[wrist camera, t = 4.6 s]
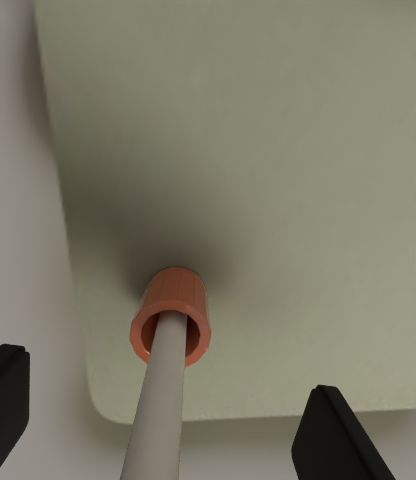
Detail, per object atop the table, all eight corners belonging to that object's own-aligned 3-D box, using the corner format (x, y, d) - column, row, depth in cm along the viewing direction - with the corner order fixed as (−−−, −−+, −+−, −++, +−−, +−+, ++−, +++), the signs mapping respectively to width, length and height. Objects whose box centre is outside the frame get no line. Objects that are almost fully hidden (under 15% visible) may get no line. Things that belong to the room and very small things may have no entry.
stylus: (162, 308, 15) (106, 545, 6) (165, 286, 15) (112, 500, 5) (186, 311, 15) (170, 549, 6) (190, 289, 15) (180, 505, 5)
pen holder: (142, 317, 16) (125, 365, 12) (150, 261, 15) (134, 294, 11) (200, 325, 16) (202, 374, 12) (211, 271, 15) (217, 305, 12)
